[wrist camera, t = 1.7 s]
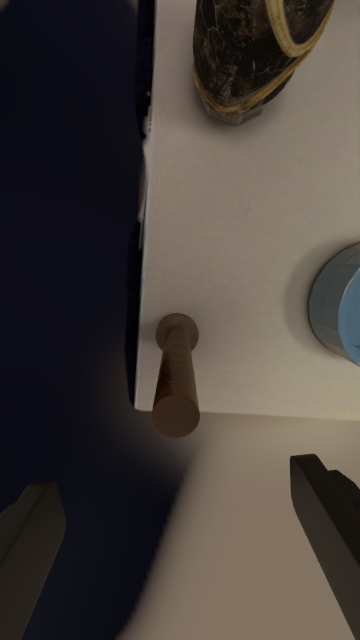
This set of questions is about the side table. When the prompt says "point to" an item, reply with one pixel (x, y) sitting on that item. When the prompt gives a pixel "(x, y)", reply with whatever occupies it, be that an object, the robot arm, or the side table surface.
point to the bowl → (338, 305)
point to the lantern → (251, 51)
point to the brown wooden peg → (176, 378)
